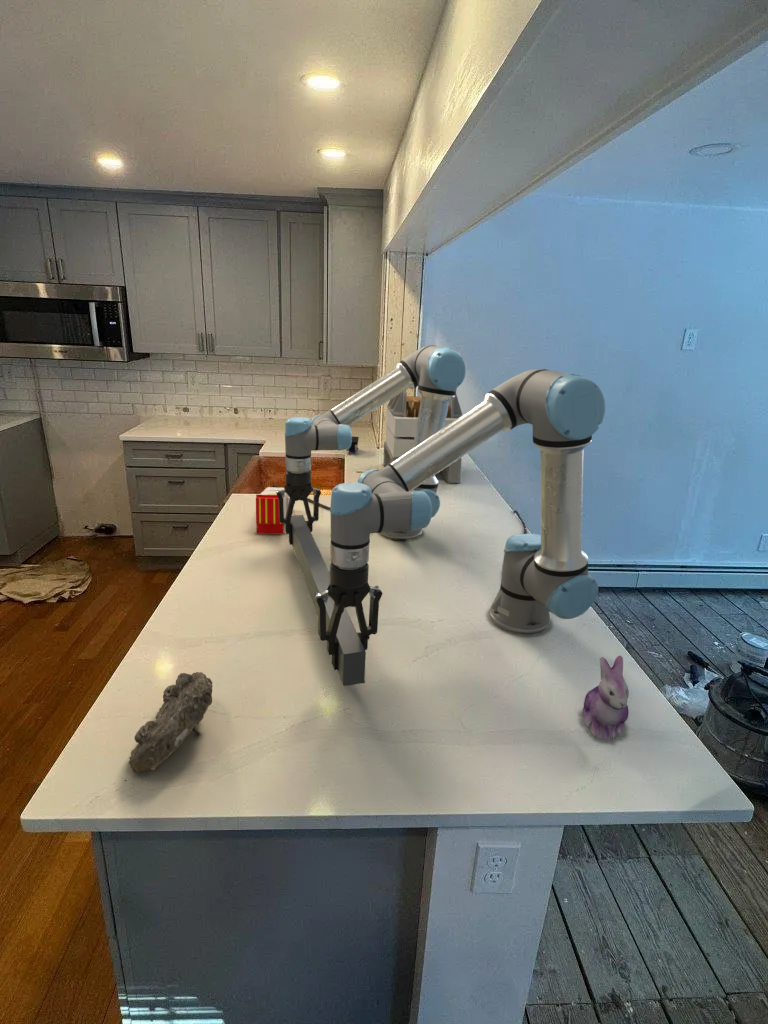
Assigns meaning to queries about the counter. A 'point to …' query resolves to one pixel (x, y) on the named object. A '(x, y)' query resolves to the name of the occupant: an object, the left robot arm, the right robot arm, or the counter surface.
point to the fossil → (172, 721)
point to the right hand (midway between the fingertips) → (346, 664)
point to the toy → (270, 511)
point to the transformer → (413, 430)
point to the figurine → (607, 702)
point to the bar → (328, 603)
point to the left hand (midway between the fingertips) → (299, 542)
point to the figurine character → (353, 445)
